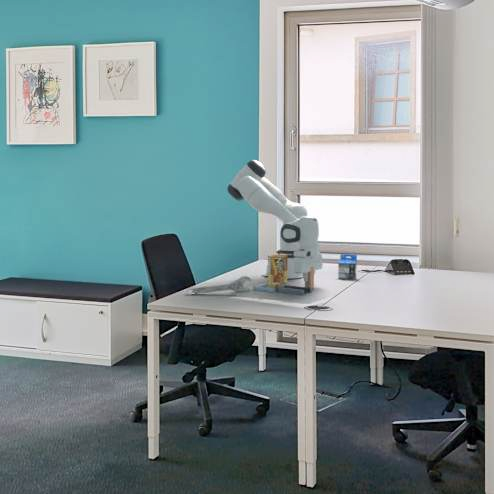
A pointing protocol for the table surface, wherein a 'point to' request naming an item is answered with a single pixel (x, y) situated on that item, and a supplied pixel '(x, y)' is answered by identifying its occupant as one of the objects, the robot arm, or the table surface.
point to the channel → (294, 290)
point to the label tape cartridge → (347, 266)
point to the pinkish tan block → (310, 279)
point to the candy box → (277, 268)
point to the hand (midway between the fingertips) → (308, 280)
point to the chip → (273, 285)
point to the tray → (263, 288)
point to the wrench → (224, 286)
